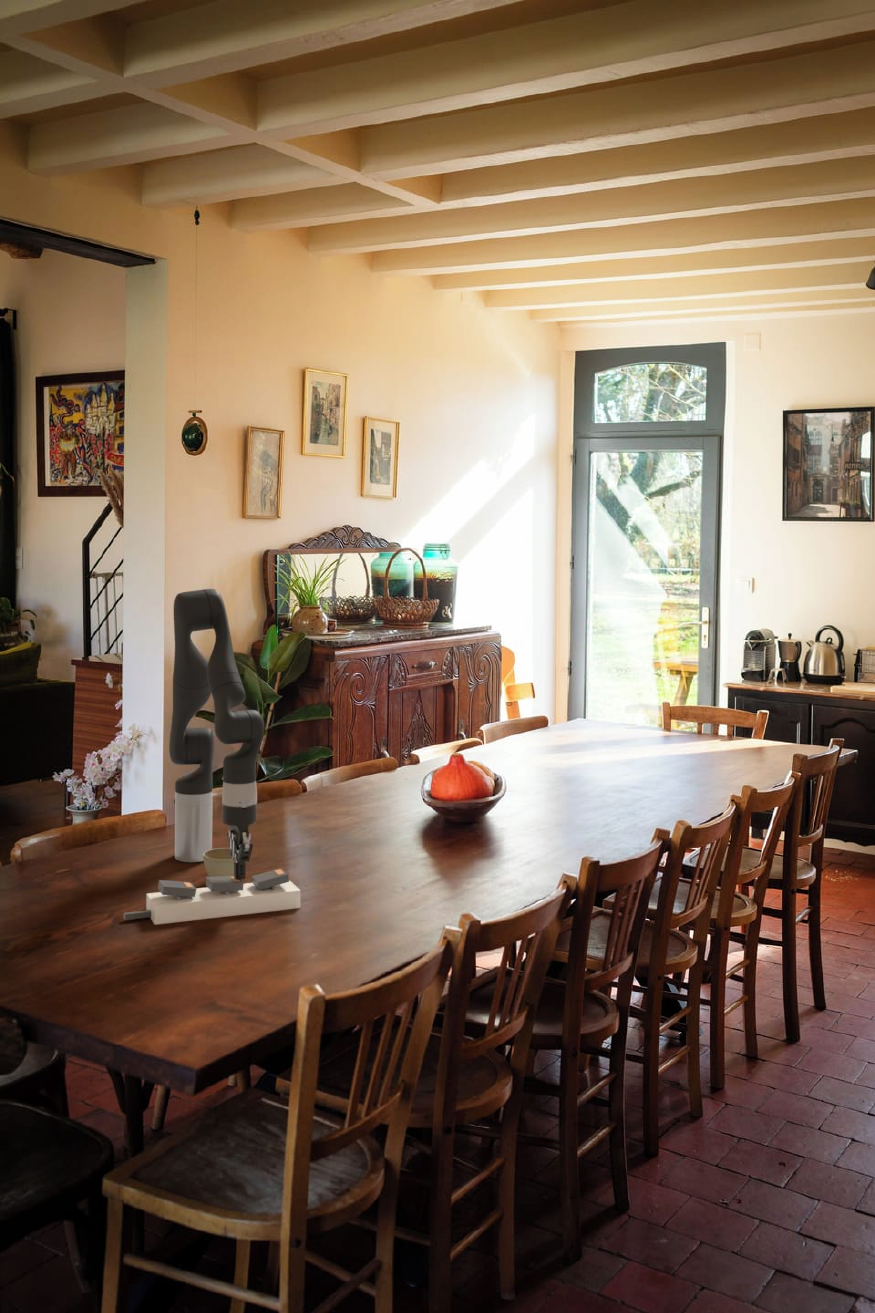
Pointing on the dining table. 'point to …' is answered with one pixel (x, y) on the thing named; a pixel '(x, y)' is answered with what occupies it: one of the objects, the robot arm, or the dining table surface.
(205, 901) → the power strip
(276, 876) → the block
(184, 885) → the rocker
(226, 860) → the flower pot
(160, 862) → the dining table surface
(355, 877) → the dining table surface
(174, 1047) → the dining table surface
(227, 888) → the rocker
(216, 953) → the dining table surface
